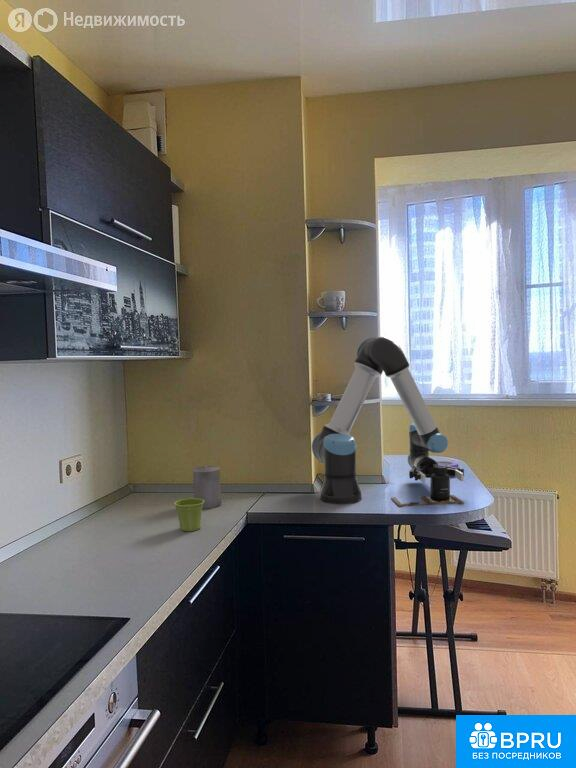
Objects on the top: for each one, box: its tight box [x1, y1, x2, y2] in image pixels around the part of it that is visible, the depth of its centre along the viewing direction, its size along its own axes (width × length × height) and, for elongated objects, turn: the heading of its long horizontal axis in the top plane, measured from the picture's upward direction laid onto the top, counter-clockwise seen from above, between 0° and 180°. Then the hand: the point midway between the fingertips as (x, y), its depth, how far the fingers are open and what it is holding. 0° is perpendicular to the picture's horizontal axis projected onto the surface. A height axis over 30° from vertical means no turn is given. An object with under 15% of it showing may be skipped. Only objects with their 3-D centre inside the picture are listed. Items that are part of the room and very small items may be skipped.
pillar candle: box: [192, 464, 222, 510], centre depth 211 cm, size 10×10×15 cm
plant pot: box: [173, 498, 204, 532], centre depth 183 cm, size 9×9×9 cm
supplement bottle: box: [429, 466, 451, 502], centre depth 208 cm, size 7×7×12 cm
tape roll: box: [435, 460, 459, 476], centre depth 252 cm, size 12×12×5 cm
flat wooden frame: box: [391, 494, 465, 508], centre depth 207 cm, size 23×11×1 cm, turn 93°
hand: (443, 478), depth 205 cm, fingers open, 13 cm apart
